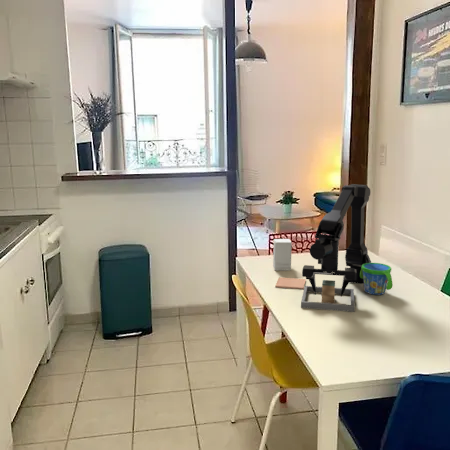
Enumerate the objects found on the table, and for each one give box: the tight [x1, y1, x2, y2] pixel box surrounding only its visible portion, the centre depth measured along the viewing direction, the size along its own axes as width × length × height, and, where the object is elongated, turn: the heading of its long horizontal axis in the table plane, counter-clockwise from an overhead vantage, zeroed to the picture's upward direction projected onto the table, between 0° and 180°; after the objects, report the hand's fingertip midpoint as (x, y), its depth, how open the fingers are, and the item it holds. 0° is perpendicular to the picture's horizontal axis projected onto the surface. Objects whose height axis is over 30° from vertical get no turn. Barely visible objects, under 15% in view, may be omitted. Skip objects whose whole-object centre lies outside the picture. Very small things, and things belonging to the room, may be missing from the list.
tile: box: [275, 276, 307, 290], centre depth 195 cm, size 11×11×1 cm
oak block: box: [321, 279, 336, 304], centre depth 175 cm, size 4×4×7 cm
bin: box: [300, 285, 356, 313], centre depth 176 cm, size 18×18×2 cm
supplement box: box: [272, 238, 293, 271], centre depth 215 cm, size 7×7×13 cm
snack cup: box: [360, 262, 393, 296], centre depth 184 cm, size 16×10×10 cm
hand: (328, 295), depth 176 cm, fingers open, 9 cm apart
